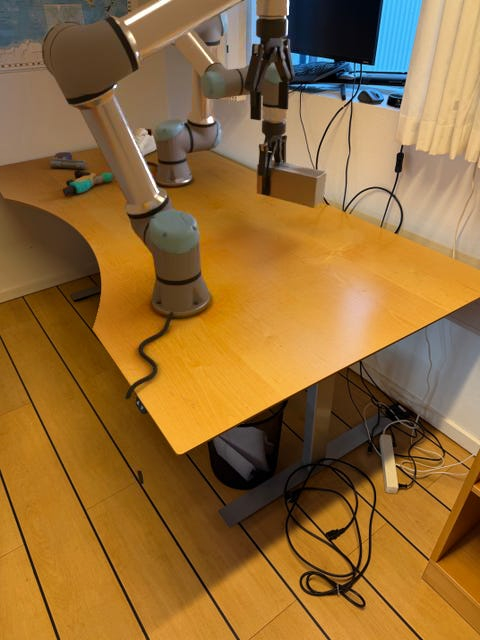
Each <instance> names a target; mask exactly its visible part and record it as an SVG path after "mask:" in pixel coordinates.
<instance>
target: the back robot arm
mask: <svg viewBox="0 0 480 640" xmlns="http://www.w3.org/2000/svg"><path fill="white" fill-rule="evenodd" d="M228 22H229V20H228V14H227V11H225V12H223V13H222V14H220V15H218V16H217V17H215V18H213V19H211V20H210V21H208V22H206V23H205V24H203V25H201V26H199V27H198V28H196V29H194V30H193V31H191V32H189V33H187V34H186V35H184V36H182V37H181V38H179V39H177V40H175V41H174V42H172V43H170V45H172V46H174V47H176V48H177V49H178V50H179V52H180V53H181V54H182V56H183V57H184V58H185V60H186V61H187V62H188V63H189V65H190V66H191V101H190V102H191V108H190V109H191V110H190V112H189V113H188V114H187V117H186V118H187V119H186V120H187V121H186V122H184V121H183V120H182V119H177V118H176V119H168V120H164V121H162V122H160V123H158V124H157V125H156V126H155V128H154V140H155V144H156V154H157V163H156V162H153V161H148V160H147V161H146V162H147V165H153V166H155V167H156V174H155V182H156V184H157V186H158V185H159V186H160V187H165V188H179V187H183V186H187V185H190V184H191V183H192V182H193V174H192V172H191V170H190V169H191V168H190V166H189V164H188V160H187V154H192V153H193V154H194V153H199V152H207V151H210V150H213V149H216V148H217V147H219V145H220V143H221V140H222V129H221V127H222V126H221V124H220V121H219V120H218V119H217V116H216V115H215V114H214V100H221V99H226V98H233V97H242V96H248V95H249V96H250V91H246V89H245V88H244V85H245V81H246V76H247V72H248V68H249V64H248V65H245V66H244V67H240V68H231V69H227V68H226V67H225V66H224V65H223V63H222V62H221V61H220V59H218V57H217V56H216V52H217V51H216V49H217V48H218V47H219V46H220V45H221V37H224V36H225V35H226V34H227V32H228V28H229V27H228V26H229V23H228ZM279 82H282V81H281V79H280V77H279V74H278V72H277V69H276V67H275V64H274V62H273V63H271V65H270V66H268V68H267V71H266V74H265V76H264V79H263V82H262V84H261V87H260V90H259V91H261V97H262V102H261V119H262V120H261V133H262V134H263V135H264V139H263V143H259V144H258V152H259V153H258V163H257V165H258V175H259V176H262V195H261V196H265V195H266V196H265V197H269V196H270V176H269V172H270V167H271V162H272V160H274V161H279V162H284V163H287V140H288V135H285V134H286V132H287V129H286V128H287V121H286V120H287V114H288V109H287V110H285V109H278V93H279ZM249 84H250V83H249Z"/></svg>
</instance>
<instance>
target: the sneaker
mask: <svg viewBox="0 0 480 640" xmlns="http://www.w3.org/2000/svg"><path fill="white" fill-rule="evenodd" d="M153 131H154V130H152V128H143V127H139V128H136V130H135V132H134V133H133V134H134V136H135V138H136V141H137V143H138V145H139V147H140V149H141V152H142V154H143V156H144V157H145V156H146V155H148V154H151V153H154V152H155V151H157V147H156V140H155V134H154V132H153Z"/></svg>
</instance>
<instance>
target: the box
mask: <svg viewBox="0 0 480 640" xmlns="http://www.w3.org/2000/svg"><path fill="white" fill-rule="evenodd" d="M269 176H270V196H268V197H269V198H273V199H278V200H281V201H284V202H289V203H293V204H297V205H300V206H305V207H307V208H308V207H309V208H313V209H315V208H316V207H318V206H319V205H321V204H322V203H323V202H324V200H325V199H324V198H325V190H326V181H327V180H326V179H327V171H325V170H320V169H315V168H311V167H306V166H302V165H297V164H292V163H288V162H286V163H284V162H279V161H274V159H272V162H271V167H270V172H269ZM256 194H258V195H261V196H263V195H262V176H259V175H258V164H256ZM264 196H265V197H267V196H266V195H264Z"/></svg>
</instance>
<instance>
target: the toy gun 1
mask: <svg viewBox="0 0 480 640" xmlns="http://www.w3.org/2000/svg"><path fill="white" fill-rule="evenodd" d="M48 165H49V166H50V167H53V168H58V169H76V170H86V166H87V161H85V160H79V159H73V154H72V152H71V151H60V152H57V153H55V154H54V158H51V159H50V161H49V163H48Z"/></svg>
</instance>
